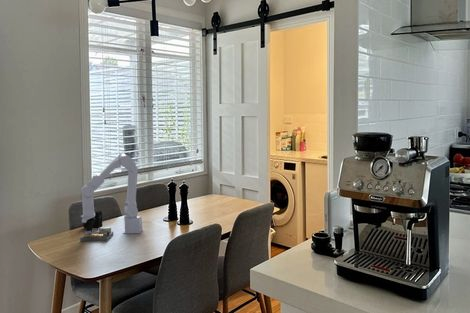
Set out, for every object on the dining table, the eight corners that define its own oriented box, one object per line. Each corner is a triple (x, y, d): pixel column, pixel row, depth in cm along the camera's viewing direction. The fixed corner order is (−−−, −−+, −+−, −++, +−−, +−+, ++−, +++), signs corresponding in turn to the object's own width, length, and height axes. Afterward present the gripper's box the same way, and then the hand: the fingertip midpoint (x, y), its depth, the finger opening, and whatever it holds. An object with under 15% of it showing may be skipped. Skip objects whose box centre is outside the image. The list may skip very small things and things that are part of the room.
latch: (91, 234, 219) (90, 230, 218) (88, 237, 214) (87, 233, 214) (86, 234, 219) (86, 230, 218) (83, 237, 214) (83, 233, 214)
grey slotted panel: (113, 235, 224) (112, 227, 224) (107, 241, 213) (106, 233, 213) (88, 235, 224) (87, 227, 224) (80, 241, 213) (80, 233, 213)
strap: (107, 235, 216) (107, 234, 216) (106, 237, 214) (106, 235, 214) (84, 235, 216) (84, 233, 216) (82, 236, 214) (82, 235, 214)
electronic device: (98, 228, 236) (98, 212, 235) (83, 228, 238) (82, 211, 237) (102, 226, 240) (101, 210, 239) (87, 226, 242) (86, 209, 241)
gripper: (85, 204, 225) (87, 228, 227) (75, 211, 211) (76, 236, 212) (98, 204, 225) (99, 228, 227) (89, 210, 211) (90, 236, 212)
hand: (89, 232), depth 220 cm, fingers closed
